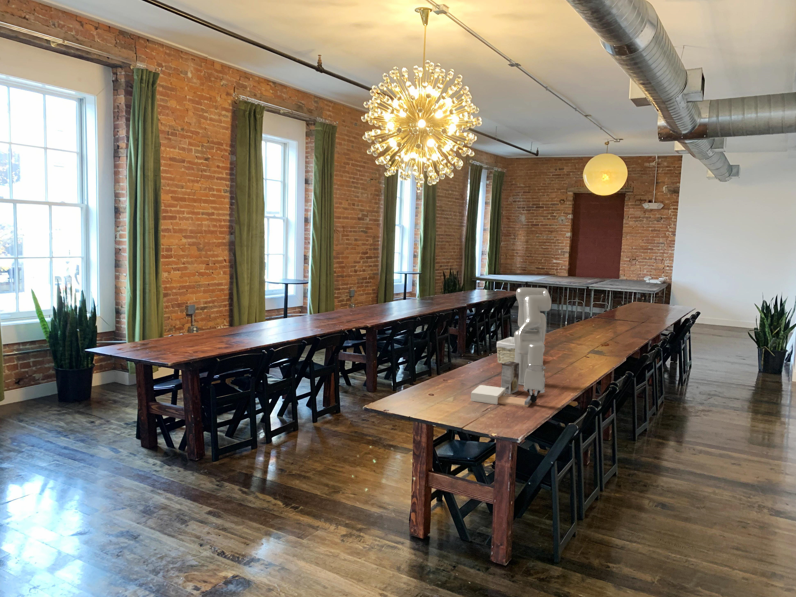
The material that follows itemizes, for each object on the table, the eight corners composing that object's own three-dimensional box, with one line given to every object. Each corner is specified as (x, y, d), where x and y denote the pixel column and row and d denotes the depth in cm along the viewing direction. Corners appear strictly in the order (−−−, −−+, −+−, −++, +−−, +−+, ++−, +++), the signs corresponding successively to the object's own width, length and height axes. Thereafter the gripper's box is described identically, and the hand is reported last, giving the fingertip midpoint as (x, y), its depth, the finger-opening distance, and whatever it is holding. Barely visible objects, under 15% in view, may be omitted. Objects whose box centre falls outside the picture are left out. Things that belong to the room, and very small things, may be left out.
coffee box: (508, 388, 329) (509, 360, 327) (518, 391, 325) (519, 362, 323) (500, 392, 322) (501, 363, 320) (510, 394, 318) (511, 365, 316)
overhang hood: (479, 392, 319) (480, 384, 319) (504, 396, 314) (505, 388, 313) (470, 400, 304) (471, 392, 303) (497, 404, 298) (497, 395, 298)
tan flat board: (499, 397, 312) (500, 392, 311) (531, 401, 305) (532, 396, 304) (494, 402, 302) (494, 397, 301) (527, 407, 295) (527, 401, 294)
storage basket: (517, 366, 386) (518, 344, 384) (494, 362, 395) (495, 341, 393) (530, 360, 406) (531, 339, 404) (508, 356, 415) (509, 336, 413)
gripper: (551, 367, 298) (549, 402, 300) (521, 364, 303) (520, 398, 305) (548, 370, 291) (546, 406, 293) (518, 367, 297) (517, 402, 299)
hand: (533, 402), depth 299 cm, fingers closed
